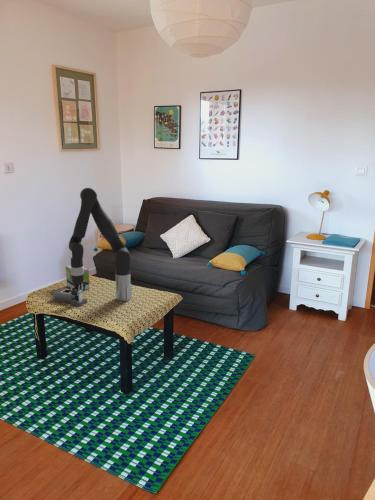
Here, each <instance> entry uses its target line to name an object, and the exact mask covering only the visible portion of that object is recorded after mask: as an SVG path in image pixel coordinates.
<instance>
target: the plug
mask: <svg viewBox="0 0 375 500" xmlns="http://www.w3.org/2000/svg"><path fill="white" fill-rule="evenodd" d="M76 293H77V292H76ZM82 294H83V293H82V290H81V289H79V292H78V296H79V301H76V302H81V301H83V299H84V298H83V296H82Z"/></svg>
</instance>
